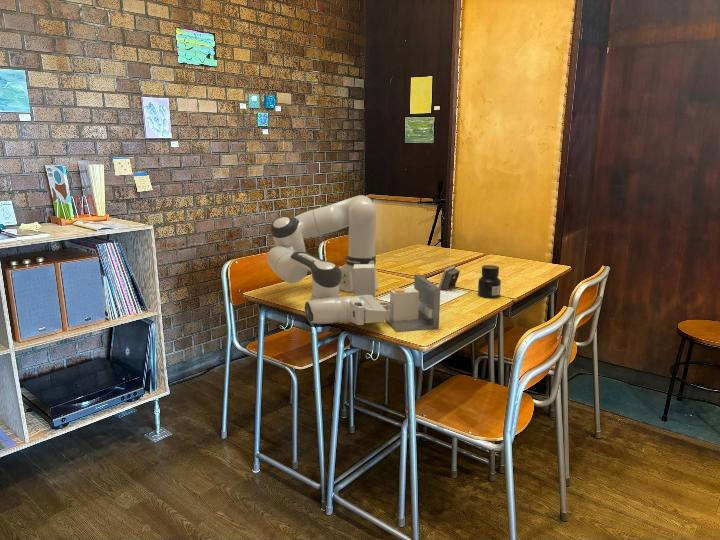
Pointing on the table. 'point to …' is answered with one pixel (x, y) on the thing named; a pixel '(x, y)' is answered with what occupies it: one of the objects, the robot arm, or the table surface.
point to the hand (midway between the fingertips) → (391, 305)
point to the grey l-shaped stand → (421, 308)
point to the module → (404, 304)
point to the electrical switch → (449, 278)
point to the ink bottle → (489, 282)
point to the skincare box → (364, 279)
